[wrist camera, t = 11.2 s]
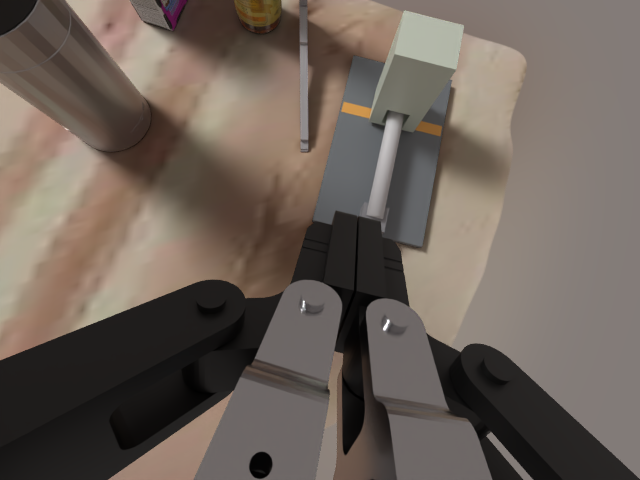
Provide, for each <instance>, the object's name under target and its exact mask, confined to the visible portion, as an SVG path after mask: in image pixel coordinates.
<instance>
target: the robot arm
mask: <svg viewBox="0 0 640 480" xmlns="http://www.w3.org/2000/svg"><path fill="white" fill-rule="evenodd" d="M0 83H1V84H3V85H4V86H6V87H7V88H8V89H10V90H11V91H13V92H14V93H16V94H17V95H18V96H20V97H21V98H23V99H24V100H26V101H27V102H29V103H30V104H31V105H33V106H34V107H36V108H37V109H39V110H40V111H41V112H43V113H44V114H46V115H47V116H49V117H50V118H51V119H53V120H54V121H56V122H57V123H59V124H60V125H61V126H63V127H64V128H65V129H67V130H68V131H70V132H71V133H73V134H74V135H75V136H77V137H78V138H80V139H81V140H83V141H84V142H85V143H87V144H88V145H90V146H91V147H93V148H96V149H98V150H102V151H108V152H115V151H121V150H124V149H127V148H129V147H131V146H133V145H135V144H136V143H137V142H139V141H140V140H141V139H142V138H143V136H144V135H145V134H146V132H147V130H148V128H149V126H150V122H151V112H150V107H149V105H148V103H147V101H146V100H145V99H144V97H143V96H142V95H141V94H140V92H139V91H138V90H137V89H136V87H135V86H134V85H133V84H132V82H131V81H130V80H129V78H128V77H127V76H126V75H125V73H124V72H123V71H122V70H121V69H120V67H119V66H118V65H117V64H116V62H115V61H114V60H113V59H112V57H111V56H110V55H109V54H108V52H107V51H106V50H105V49H104V47H103V46H102V45H101V44H100V43H99V41H98V40H97V39H96V38H95V36H94V35H93V34H92V33H91V31H90V30H89V29H88V28H87V26H86V25H85V24H84V23H83V21H82V20H81V19H80V18H79V16H78V15H77V14H76V13H75V12H74V10H73V9H72V8H71V7H70V5H69V4H68V3H67V2H66V0H0ZM403 271H404V270H403V264H402V257H401V251H400V249H399V248H398V246H397V245H396V244H395V242H394V241H393V240H392V239H388V238H384V237H382V230H381V221H378V220H373V219H369V218H365V217H361V216H358V218H357V215H353V214H349V213H345V212H341V211H337V210H336V211H335V213H334V217H333V221H332V224H331V225H330V224H326V223H322V222H318V221H316V222H315V223H313V224H312V225H311V226H309V227H308V228H307V231H306V235H305V238H304V241H303V245H302V248H301V251H300V255H299V258H298V261H297V265H296V268H295V271H294V275H293V278H292V281H291V283H290V285H289V286H288V287H287V288H286V289H285V290H284V291H283V292H281V293H279V294H277V295H275V296H271V297H266V298H245V296H244V294H243V292H242V291H241V290H240V289H239V288H238V287H237V286H235V285H234V284H231V283H229V282H226V281H222V280H205V281H200V282H197V283H194V284H192V285H189V286H187V287H184V288H182V289H179V290H176V291H174V292H171V293H169V294H166V295H164V296H161V297H159V298H156V299H154V300H151V301H149V302H146V303H144V304H141V305H139V306H136V307H134V308H131V309H129V310H126V311H124V312H121V313H119V314H116V315H114V316H111V317H109V318H106V319H103V320H101V321H98V322H96V323H93V324H91V325H88V326H86V327H83V328H81V329H78V330H76V331H73V332H71V333H68V334H66V335H63V336H61V337H58V338H56V339H53V340H51V341H48V342H46V343H43V344H41V345H38V346H36V347H33V348H30V349H28V350H25V351H23V352H20V353H18V354H15V355H13V356H10V357H8V358H5V359H3V360H0V480H108V479H109V478H111V477H112V476H114V475H115V474H117V473H118V472H119V471H121V470H122V469H124V468H125V467H127V466H128V465H129V464H131V463H132V462H134V461H135V460H137V459H138V458H139V457H141V456H142V455H144V454H145V453H147V452H148V451H150V450H151V449H152V448H154V447H155V446H157V445H158V444H160V443H161V442H162V441H164V440H165V439H167V438H168V437H170V436H171V435H172V434H174V433H175V432H177V431H178V430H180V429H181V428H182V427H184V426H185V425H187V424H188V423H190V422H191V421H192V420H194V419H195V418H197V417H198V416H200V415H201V414H203V413H204V412H205V411H207V410H208V409H210V408H211V407H213V406H214V405H215V404H217V403H218V402H220V401H221V400H223V399H224V398H225V397H227V396H228V395H229V394H230V393H231V392H232V391H234V392H233V394H232V396H231V398H230V401H229V403H228V405H227V407H226V409H225V412H224V414H223V416H222V418H221V420H220V423H219V425H218V427H217V429H216V431H215V434H214V436H213V438H212V440H211V442H210V445H209V447H208V449H207V451H206V453H205V456H204V458H203V460H202V462H201V464H200V467H199V469H198V471H197V473H196V475H195V478H194V480H315V477H316V472H317V466H318V461H319V455H320V450H321V444H322V438H323V433H324V427H325V421H326V416H327V410H328V404H329V395H330V391H329V389H328V381H329V375H330V370H331V365H332V360H333V354H334V351H336V352H340V353H343V365H342V367H341V370H340V372H339V375H338V379H337V460H336V468H335V473H334V477H333V480H523V479H522V478H521V477H520V475H519V474H518V473H517V472H516V471H515V470H514V468H513V467H512V466H511V465H510V464H509V462H508V461H507V460H506V459H505V458H504V457H503V455H502V454H501V453H500V452H499V451H498V450H497V448H496V447H495V446H494V445H493V444H492V442H491V441H490V440H489V439H488V438H487V437H486V436H487V434H489V433H490V432H492V433H493V434H494V435H495V436H496V437H497V439H498V440H499V441H500V442H501V443H502V444H503V445H504V447H505V448H506V449H507V450H508V451H509V452H510V454H512V456H513V457H514V458H515V459H516V460H517V462H519V464H520V465H521V466H522V467H523V468H524V469H525V470H526V472H527V473H528V474H529V475H530V476H531V477H532V479H534V480H640V479H639V478H638V477H637V476H636V475H635V474H634V473H633V472H631V471H630V470H629V469H628V468H627V467H626V466H625V465H624V464H623V463H622V462H621V461H620V460H619V459H617V458H616V457H615V456H614V455H613V454H612V453H611V452H610V451H609V450H608V449H607V448H605V447H604V446H603V445H602V444H601V443H600V442H599V441H598V440H597V439H596V438H595V437H594V436H593V435H592V434H590V433H589V432H588V431H587V430H586V429H585V428H584V427H583V426H582V425H581V424H580V423H579V422H577V421H576V420H575V419H574V418H573V417H572V416H571V415H570V414H569V413H568V412H567V411H566V410H564V409H563V408H562V407H561V406H560V405H559V404H558V403H557V402H556V401H555V400H554V399H553V398H552V397H550V396H549V395H548V394H547V393H546V392H545V391H544V390H543V389H542V388H541V387H540V386H539V385H538V384H536V383H535V382H534V381H533V380H532V379H531V378H530V377H529V376H528V375H527V374H526V373H525V372H523V371H522V370H521V369H520V368H519V367H518V366H517V365H516V364H515V363H514V362H512V361H511V360H510V359H509V358H508V357H507V356H505V355H504V354H503V353H501V352H500V351H498V350H496V349H494V348H492V347H490V346H487V345H484V344H470V345H468V346H466V347H465V348H464V349H463V350H462V351H461V352H459V351H457V350H455V349H453V348H451V347H449V346H448V345H446V344H444V343H442V342H440V341H438V340H436V339H434V338H433V337H431V336H430V335H428V334H427V333H426V330H425V327H424V324H423V322H422V320H421V318H420V317H419V316H418V314H417V313H416V312H415V311H414V310H413V309H411V308H410V307H409V301H408V295H407V288H406V282H405V276H404V273H403Z"/></svg>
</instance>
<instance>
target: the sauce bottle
mask: <svg viewBox="0 0 640 480" xmlns="http://www.w3.org/2000/svg"><path fill="white" fill-rule="evenodd" d="M234 4H235V8H236V12H237V14H238V17H239V20H240V21H241V23H242V25H243V26H244V27H245V28H246V29H247V30H249V31H252V32H255V33H259V34H264V33H267V32H269V31H271V30H273V29H274V28H275V27H276V26H277V25H278V23H279V21H280V15H281V0H234Z"/></svg>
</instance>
